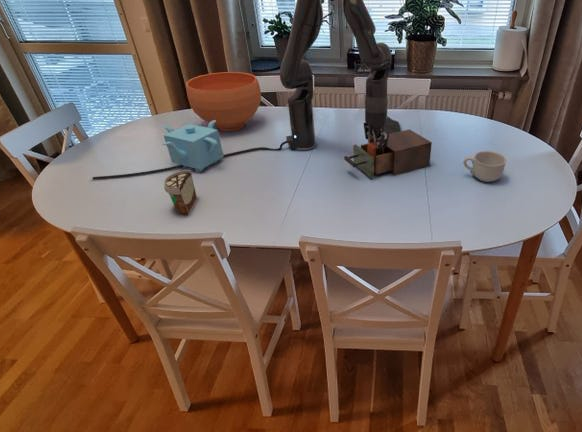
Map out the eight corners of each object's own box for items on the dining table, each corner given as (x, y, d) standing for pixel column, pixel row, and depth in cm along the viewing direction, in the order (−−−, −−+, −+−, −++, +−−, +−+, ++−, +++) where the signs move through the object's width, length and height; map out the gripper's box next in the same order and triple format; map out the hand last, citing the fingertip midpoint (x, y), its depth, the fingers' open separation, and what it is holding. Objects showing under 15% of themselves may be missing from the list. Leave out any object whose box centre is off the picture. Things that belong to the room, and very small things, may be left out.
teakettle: (226, 170, 143) (217, 132, 135) (170, 179, 137) (158, 140, 129) (223, 150, 158) (215, 114, 149) (172, 157, 152) (161, 120, 144)
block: (383, 156, 140) (384, 145, 137) (373, 159, 138) (373, 147, 136) (377, 151, 143) (377, 140, 141) (367, 154, 141) (367, 143, 139)
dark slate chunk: (367, 141, 164) (367, 131, 161) (366, 122, 182) (366, 113, 180) (403, 141, 164) (404, 130, 162) (398, 122, 183) (399, 112, 180)
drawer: (357, 181, 134) (356, 162, 130) (340, 166, 143) (339, 147, 139) (405, 168, 142) (406, 149, 138) (387, 155, 151) (387, 137, 147)
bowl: (270, 114, 191) (264, 71, 180) (257, 139, 167) (249, 90, 155) (208, 115, 191) (198, 71, 179) (186, 139, 166) (173, 91, 155)
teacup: (502, 173, 141) (507, 153, 136) (501, 187, 132) (505, 166, 128) (463, 167, 145) (466, 147, 140) (459, 181, 136) (462, 160, 132)
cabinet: (393, 175, 140) (394, 151, 135) (373, 159, 150) (374, 137, 145) (429, 165, 146) (431, 142, 141) (408, 151, 156) (409, 129, 151)
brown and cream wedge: (179, 197, 127) (170, 169, 122) (198, 196, 128) (190, 168, 122) (166, 218, 117) (156, 189, 112) (187, 217, 118) (178, 188, 112)
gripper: (356, 103, 134) (357, 149, 144) (377, 116, 124) (376, 165, 134) (375, 100, 137) (374, 145, 147) (397, 112, 127) (395, 160, 137)
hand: (375, 154), depth 140 cm, fingers closed on block, 4 cm apart
